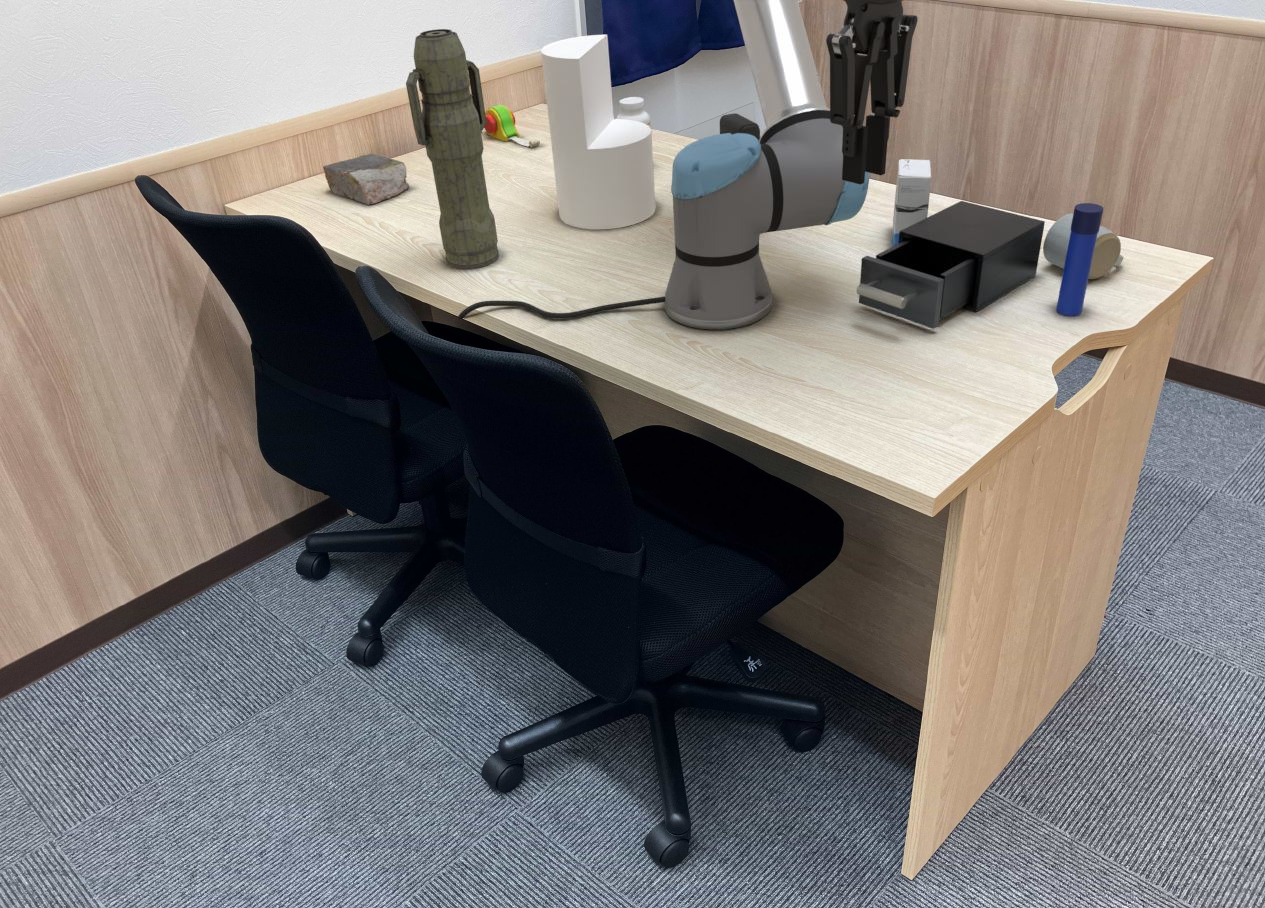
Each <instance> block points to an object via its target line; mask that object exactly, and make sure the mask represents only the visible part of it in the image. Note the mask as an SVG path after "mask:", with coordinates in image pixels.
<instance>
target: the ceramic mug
mask: <svg viewBox="0 0 1265 908" xmlns="http://www.w3.org/2000/svg"><path fill="white" fill-rule="evenodd" d="M1073 213H1074V212H1071V213H1067V214H1064V215H1063V216H1061V217H1059V218H1058V219H1057V220H1056V221H1055V222H1053V224H1052V225H1051V227H1050V228H1049V229H1048V231H1047V233H1046V236H1045V238H1044V240H1043V246H1042V253H1043V257H1044V259H1045V260H1046V261H1047V262H1048V263H1050V264H1052V265H1054V266H1056V267H1059V268H1060V269H1063V270H1064V265H1065V260H1066V255H1067V249H1068V244H1069V239H1070V233H1071V224H1072V218H1073ZM1121 249H1122V243H1121V240H1120V238H1119V237H1118V235H1117V234H1116V233H1114V232H1113V231H1111V230H1110V229H1109V228H1107V227H1104V226H1103V225H1100V229H1099V232H1098V234H1097V239H1096V244H1095V249H1094V254H1093V259H1092V264H1091V268H1090V273H1089V278H1088V280H1097V279H1099V278H1102V277H1103V276H1105V275H1106V274H1108V273H1109V272H1110V271H1111V270H1112V269H1113V268H1114V267H1117V268H1119V267H1120V266H1121V265H1122V262H1123V260H1124V259H1125V258H1124V256H1123V255H1122V254H1121V251H1122V250H1121Z"/></svg>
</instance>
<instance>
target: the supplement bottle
mask: <svg viewBox="0 0 1265 908" xmlns="http://www.w3.org/2000/svg"><path fill="white" fill-rule="evenodd" d="M644 108H645V100H644V98H643V97H639V96H630V97H629V96H628V97H625V98H621V99H620V100H619V109H620V112H619V113H618V114H617V116H616V118H615V119H626V120H633V121H638V122H642V123H644V124H646V125H648V126H649V127H650V128H651V117H650V114H649V113H648V112H647V111H645V110H644Z"/></svg>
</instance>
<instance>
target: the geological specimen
mask: <svg viewBox="0 0 1265 908" xmlns="http://www.w3.org/2000/svg"><path fill="white" fill-rule="evenodd" d="M322 169H323V172H324V176H325V177H324V178H325V180H326V182H327V186H328V188H329V190H330V193H331V194H335V195H339V196H341V197H344V198H347V199H351V200H355V201H356V202H359V203H362V204H365V205H366V206H370V205H374V204H378V203H380V202H382V201H384V200H389V199H391V198H393V197H396V196H399V194H401V193H402V192H404V191H407V189H410V184H409V183H408V182H407V179H406V178H407V177H408V176H407V166H406V164H405V162H404V161H400V160H397V159H393V158H389V157H386V156H383V155H378V154H375V153H368V154H363V155H360V156H357V157H353V158H349V159H347V160H346V159H345V160H341V161H338V162H334V163H331V164H330V163H329V164H327V165H323V166H322Z"/></svg>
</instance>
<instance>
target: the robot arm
mask: <svg viewBox="0 0 1265 908" xmlns="http://www.w3.org/2000/svg"><path fill="white" fill-rule="evenodd" d="M842 1H843V2H844V3H845V5H846V13H845V17H844V19H843V27H842V28H841V29H840V30H839V31H838V32H837V33H829V34H828V35H827V37H826V40H825V43H826V47H827V51H828V55H829V107H827V104H826V100H825V97H824V93H823V90H822V86H821V82H820V78H819V74H818V69H817V67H816V62H815V60H814V56H813V52H812V49H811V44H810V41H809V38H808V33H807V30H806V26H805V22H804V19H803V15H802V12H801V8H800V5H799V1H798V0H733V3H734V4H733V5H734V7H735V11H736V15H737V19H738V23H739V27H740V31H741V35H742V39H743V42H744V46H745V50H746V55H747V58H748V61H749V65H750V70H751V73H752V78H753V81H754V84H755V89H756V93H757V98H758V102H759V105H760V109H761V112H762V117H763V120H764V124H765V129H764V131H762V133H761V134H760V140H759V141H758V139H757V138H756V137H755V136H753V135H750V134H745V133H736V134H732V135H731V133H726V134H720V133H719V134H714V135H710V136H706V137H703V138H700V139H698V140H695V141H693V142H691V143H689V144H687V145H685V146H684V148H682V149H681V150H679V151H678V153H677V154H676V155H675V157H674V159H673V162H672V168H671V169H672V171H671V173H672V174H671V186H670V193H671V195H672V210H673V230H674V232H673V233H674V250H675V258H674V262H673V265H672V269H671V272H670V275H669V278H668V282H667V286H666V289H665V292H664V293H665V294H664V296H658V297H649V298H644V299H643V298H642V299H635V300H629V301H623V302H617V303H610V304H603V305H598V306H594V307H590V308H586V309H582V310H577V311H570V312H551V311H546V310H543V309H540V308H539V307H536V306H534V305H533V304H530V303H528V302H526V301H519V300H482V301H479V302H475V303H472V304H470V305H469V306H467V307H466V308H464V309H463V310H462V311H461V312H460V313H459V315H458V316H456V319H457V320H462V319H464V318H466V316H467V315H468V314H470V313H471V312H473V311H476V310H477V309H481V308H486V307H518V308H523V309H525V310H528V311H530V312H533V313H534V314H536V315H539V316H540V317H544V318H549V319H556V320H557V319H559V320H562V319H564V320H565V319H574V318H578V317H579V318H580V317H583V316H588V315H592V314H597V313H600V312H605V311H611V310H618V309H625V308H632V307H638V306H645V305H652V304H653V305H654V304H660V303H664V309H665V313H666V315H667V316H669V318H670V319H672V320H673V321H674V322H676V323H679V324H681V325H683V326H686V327H688V328H689V327H690V328H695V329H701V330H729V329H736V328H741V327H745V326H749V325H751V324H754V323H756V322H758V321H760V320H762V319H763V318H765V317H766V316H767V315H768V314H769V313H770V311H771V310H772V305H773V301H772V300H773V295H772V288H771V285H770V283H769V280H768V279H769V278H768V276H767V272H766V270H765V268H764V264H763V262H762V259H761V256H760V237H761V235H762V234H766V233H773V232H781V231H787V230H794V229H795V230H796V229H801V228H809V227H816V226H817V227H818V226H823V225H824V226H829V225H831V224H834V223H839V222H844V221H848V220H851V219H853V218H855V216H856V215H858V214H859V212H860V211H861V209H862V208H863V206H864V204H865V202H866V198H867V196H868V191H869V186H870V185H869V184H870V177H871V174H874V175H877V176H883V175H886V167H887V154H888V153H887V152H888V142H889V139H890V127H891V118H898V117H899V116H900V114H901V110H900V109H897V108H902V107H903V106H904V104H905V101H906V100H905V98H906V93H907V92H906V89H907V85H908V84H907V82H908V76H909V67H910V59H911V53H912V52H911V51H912V43H913V38H914V35H915V30H916V28H917V24H918V16H917V15H914V14H906V13H904V6H903V1H904V0H842ZM869 90H870V108H871V109H870V111H871V113H872V114H868V115H866V110H867V109H866V108H867V103H868V96H869ZM865 116H866V117H865ZM864 121H865V125H864Z"/></svg>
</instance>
